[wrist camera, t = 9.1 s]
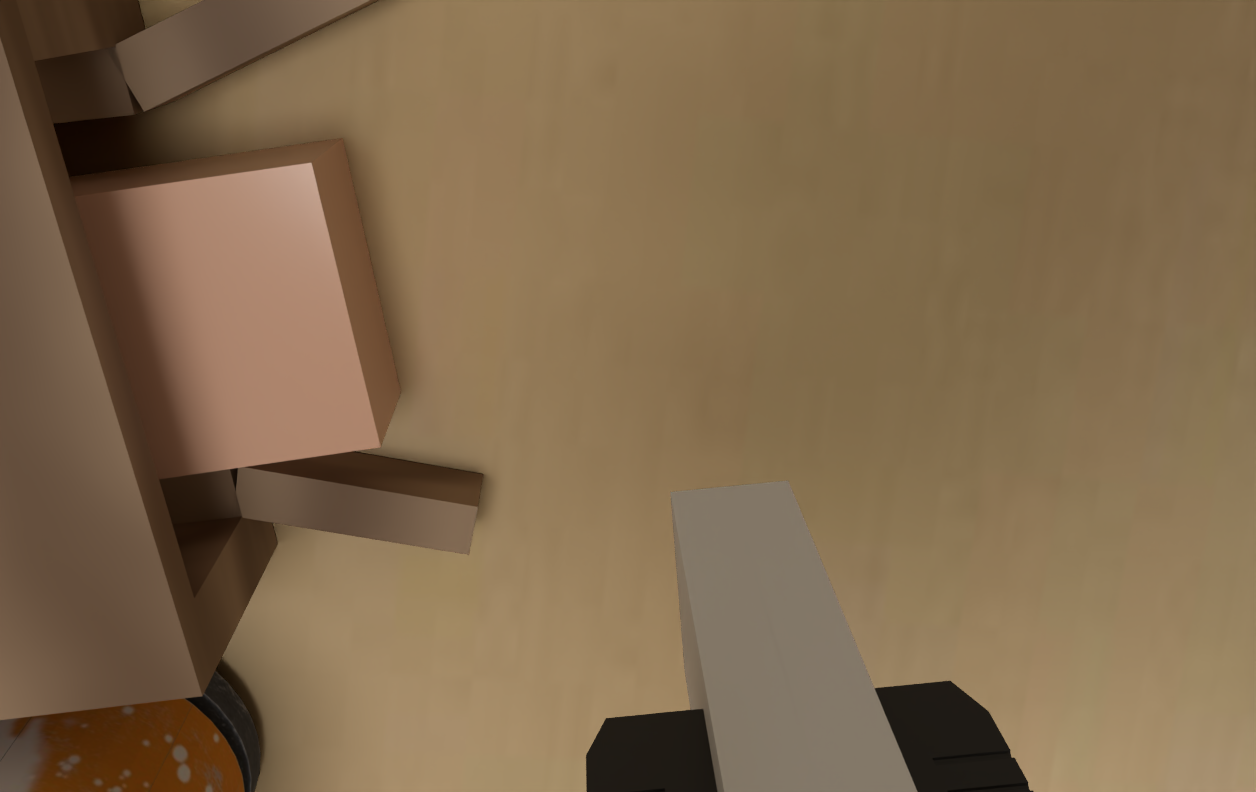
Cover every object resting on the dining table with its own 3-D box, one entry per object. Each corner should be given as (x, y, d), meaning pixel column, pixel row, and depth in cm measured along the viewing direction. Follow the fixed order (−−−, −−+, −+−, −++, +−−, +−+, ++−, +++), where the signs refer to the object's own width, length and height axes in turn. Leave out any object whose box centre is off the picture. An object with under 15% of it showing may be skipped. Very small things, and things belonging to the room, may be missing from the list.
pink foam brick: (345, 135, 27) (311, 162, 24) (402, 387, 30) (380, 447, 26) (-200, 213, 27) (-320, 253, 23) (-93, 459, 30) (-186, 529, 26)
